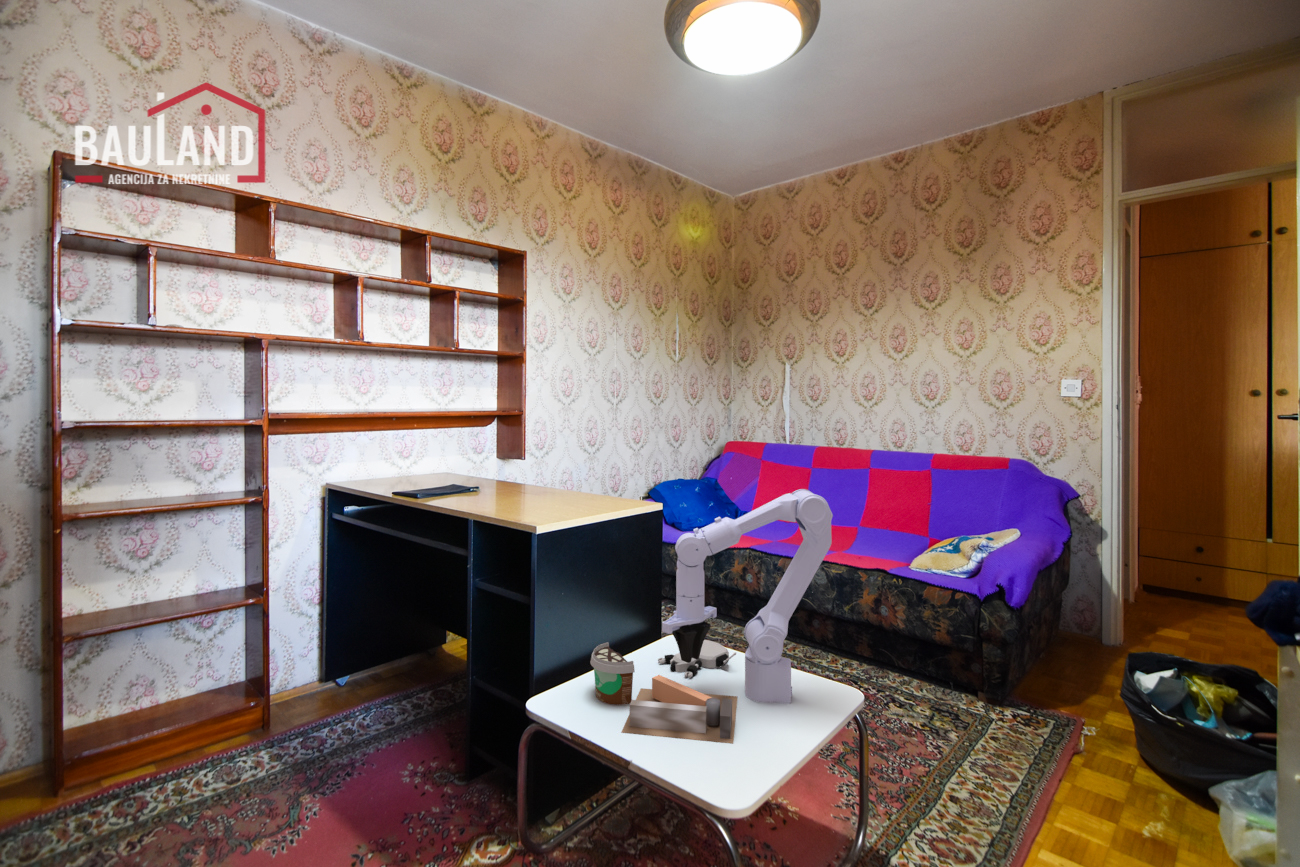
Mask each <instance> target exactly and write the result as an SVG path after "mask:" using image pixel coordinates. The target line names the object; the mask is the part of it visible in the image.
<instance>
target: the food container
mask: <svg viewBox="0 0 1300 867" xmlns="http://www.w3.org/2000/svg"><path fill="white" fill-rule="evenodd" d="M589 662H590V665H591V667H592V668H593V672H594V684H595V686H594V688H595V696H596V699H597V700H599V701H600V702H601V703H604V704H607V705H614V706H622V705H625V706H626V705H630V703H631V700H633V696H632V694H633V680H634V679H633V678H634V673H636V672H635V670H636V669H635V664H634V660H631V661H628V660H626V658H624V656H623V655H622V654H621V653H619V652H618V651H617V652H616V651H614V649H612V648H611V647H610V643H609V642H604V643H601V644H598V645H597V646H596V647H595V648H594V649H593V651H592V653H591V657H590V661H589Z"/></svg>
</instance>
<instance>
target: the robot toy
mask: <svg viewBox="0 0 1300 867" xmlns="http://www.w3.org/2000/svg"><path fill="white" fill-rule="evenodd" d="M736 655H737V652H733V654H732V655H731V656H730V652H729V650H728V648H726V647H725V646H724V645H722V644H720V643H719V642H716V641H713V640H708V639H704V641H703V645H702V648H701V652H700V656H699V659H694V658H692V660H691V662H690V663H687V662H685V661H682V660H681V656H680V652H679V653H676V654H672V653H671V654H664V657H659V658H658V659H657V661H658V664H666V665H670V667H669V668H670V669H669V670H670V671H671V672H674V673H675V672H676V673H679V674H680V673H684V677H686V678H692V677H695V676H696V675H698V674H697V673H698V669H701V668H705V669H720V668H721V667H722V666H725V665H727V664H728V663H729V661H730V659H732V658H733V657H734V656H736Z"/></svg>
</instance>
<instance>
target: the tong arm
mask: <svg viewBox="0 0 1300 867" xmlns="http://www.w3.org/2000/svg"><path fill="white" fill-rule="evenodd" d="M651 689H652V698H654V699H657V700H659V701H661V702H663V703H674V704H685V705H696V706H707V725H710V726H718V725H719V724H720V700H719V699H716V698H712V697H710V696H707V695H705V694H706V693H703V692H700V691H697V690H695V689H693V688H691V687H689V686H686V685H685V684H684V685H683V684H681V683H679V682H677V681H675V680H672V679H669V678H668V677H666V676H663V675H660V674H658V675H655V676H653V677H652V678H651Z"/></svg>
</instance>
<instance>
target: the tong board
mask: <svg viewBox="0 0 1300 867" xmlns="http://www.w3.org/2000/svg"><path fill="white" fill-rule="evenodd" d="M704 694H705V695H707V696H710V697H712V698H716V699H719V700H720V724H719V725H718V726H710V725H707V706H696V705H685V704H674V703H663V702H661V701H659V700H657V699H654V698H652V688H640V689H639V692H638V694H637V696H636V699H632V700H631V703H630V704H628V705H629V708H628V709H629V710H628V711H629V715H628V717H627V719H626V721H625V722H624V725H623V727H622V730H621V732H620V733H622V734H630V735H640V736H641V735H642V736H649V737H651V736H652V737H660V738H661V737H662V738H670V739H681V740H690V741H691V740H692V741H700V742H701V741H703V742H713V743H719V744H720V743H721V744H731V745H733V744H734V738H735V729H736V728H735V727H736V719H737V718H736V716H737V710H738V709H737V708H738V707H737V705H738V698H739V697H738V696H737V695H736V696H734V695H723V694H715V693H714V694H713V693H712V694H710V693H704Z"/></svg>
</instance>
